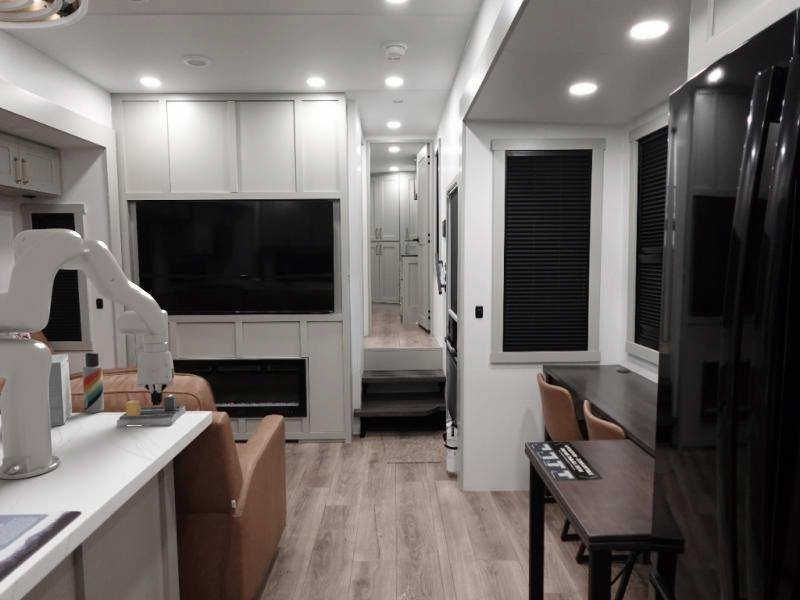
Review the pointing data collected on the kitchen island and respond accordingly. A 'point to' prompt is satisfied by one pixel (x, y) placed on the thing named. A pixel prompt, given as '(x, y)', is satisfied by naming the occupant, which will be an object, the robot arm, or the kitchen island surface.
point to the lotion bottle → (93, 384)
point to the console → (152, 416)
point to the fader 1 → (133, 408)
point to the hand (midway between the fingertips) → (157, 404)
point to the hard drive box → (59, 390)
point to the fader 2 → (170, 402)
